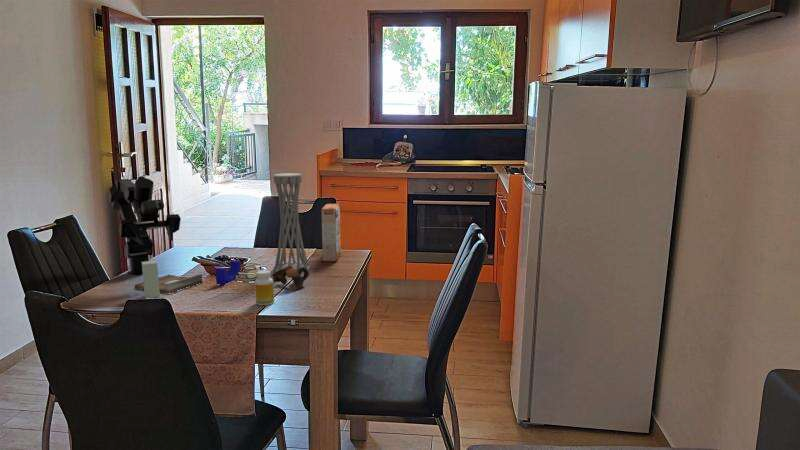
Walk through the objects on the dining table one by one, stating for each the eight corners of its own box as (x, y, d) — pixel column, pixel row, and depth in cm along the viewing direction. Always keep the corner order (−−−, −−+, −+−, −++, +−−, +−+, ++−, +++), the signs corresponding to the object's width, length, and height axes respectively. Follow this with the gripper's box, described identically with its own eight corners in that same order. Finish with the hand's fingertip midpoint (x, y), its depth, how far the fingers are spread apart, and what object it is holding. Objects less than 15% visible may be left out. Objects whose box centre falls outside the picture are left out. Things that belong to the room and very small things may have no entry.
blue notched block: (229, 276, 210) (228, 260, 209) (241, 277, 209) (240, 260, 208) (212, 285, 198) (211, 268, 197) (224, 286, 197) (223, 269, 196)
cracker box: (337, 262, 229) (336, 208, 225) (322, 262, 229) (320, 208, 225) (341, 253, 242) (340, 203, 239) (327, 253, 242) (325, 203, 239)
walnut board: (135, 288, 196) (134, 278, 195) (169, 278, 208) (168, 269, 207) (169, 294, 189) (168, 284, 188) (202, 283, 201) (201, 274, 200)
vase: (299, 275, 209) (294, 176, 203) (266, 272, 214) (260, 175, 207) (316, 266, 222) (313, 173, 216) (285, 264, 226) (280, 172, 220)
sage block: (144, 295, 187) (141, 261, 185) (158, 293, 189) (155, 260, 187) (146, 299, 184) (143, 264, 182) (159, 297, 186) (157, 262, 184)
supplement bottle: (275, 304, 176) (273, 273, 175) (256, 306, 175) (255, 274, 173) (272, 299, 182) (271, 268, 180) (254, 301, 180) (253, 270, 178)
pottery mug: (284, 295, 188) (273, 272, 189) (277, 300, 196) (266, 278, 197) (317, 279, 194) (305, 257, 195) (308, 285, 202) (298, 264, 203)
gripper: (116, 195, 191) (128, 226, 182) (175, 190, 202) (189, 220, 194) (114, 221, 198) (126, 253, 189) (171, 215, 209) (185, 245, 200)
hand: (157, 241), depth 193 cm, fingers open, 9 cm apart
